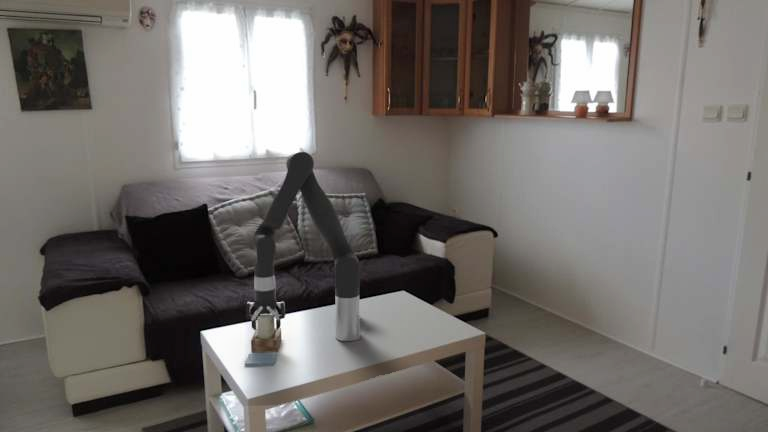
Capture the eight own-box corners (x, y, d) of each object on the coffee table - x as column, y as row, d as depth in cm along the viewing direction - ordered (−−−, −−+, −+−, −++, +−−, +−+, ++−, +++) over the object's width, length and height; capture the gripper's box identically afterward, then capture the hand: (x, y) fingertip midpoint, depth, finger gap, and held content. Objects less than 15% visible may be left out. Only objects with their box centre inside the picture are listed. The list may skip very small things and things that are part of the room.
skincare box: (269, 349, 206) (268, 318, 203) (257, 348, 206) (256, 317, 204) (275, 342, 212) (274, 312, 209) (264, 341, 212) (263, 311, 210)
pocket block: (281, 339, 215) (281, 328, 214) (277, 351, 204) (277, 340, 203) (256, 339, 214) (256, 328, 214) (251, 352, 203) (250, 340, 202)
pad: (277, 355, 200) (277, 353, 200) (274, 365, 193) (274, 363, 192) (248, 356, 200) (248, 353, 200) (244, 366, 192) (244, 363, 192)
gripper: (285, 283, 209) (286, 325, 212) (247, 283, 208) (248, 325, 211) (283, 290, 202) (284, 332, 205) (243, 290, 201) (244, 333, 204)
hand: (266, 329), depth 208 cm, fingers open, 8 cm apart
